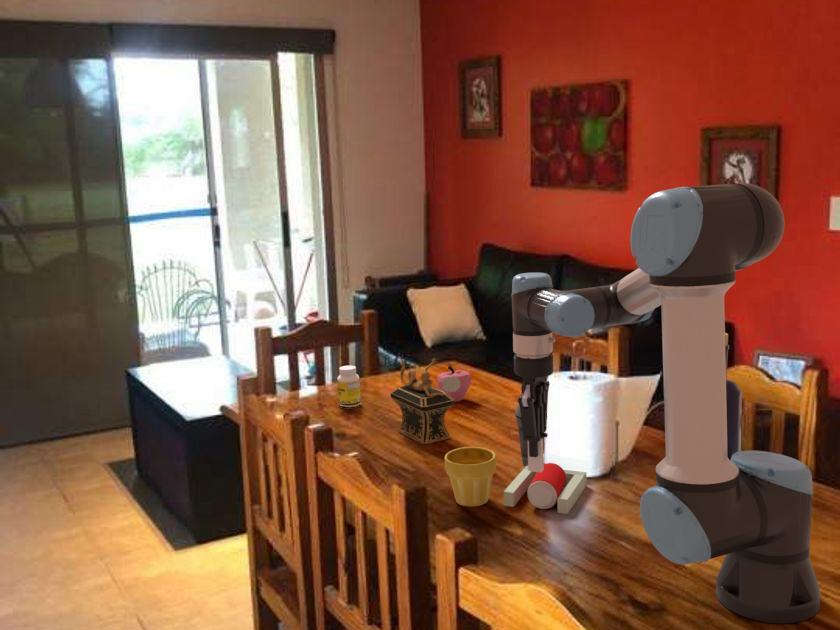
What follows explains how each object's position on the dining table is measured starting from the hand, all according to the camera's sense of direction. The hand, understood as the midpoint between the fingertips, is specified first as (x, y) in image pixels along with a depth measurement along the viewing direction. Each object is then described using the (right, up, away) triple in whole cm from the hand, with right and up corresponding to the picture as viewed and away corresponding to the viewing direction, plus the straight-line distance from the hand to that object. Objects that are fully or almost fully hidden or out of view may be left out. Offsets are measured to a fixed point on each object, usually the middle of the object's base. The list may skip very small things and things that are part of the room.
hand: (536, 470), depth 176 cm
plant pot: (-12, -8, +7) cm, 16 cm away
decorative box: (-23, +1, +50) cm, 55 cm away
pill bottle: (-42, +5, +76) cm, 87 cm away
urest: (+3, -6, +7) cm, 10 cm away
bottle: (+41, -3, +16) cm, 45 cm away
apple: (-13, +6, +75) cm, 77 cm away
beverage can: (+1, -5, -1) cm, 5 cm away
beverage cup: (+3, -3, +25) cm, 26 cm away
